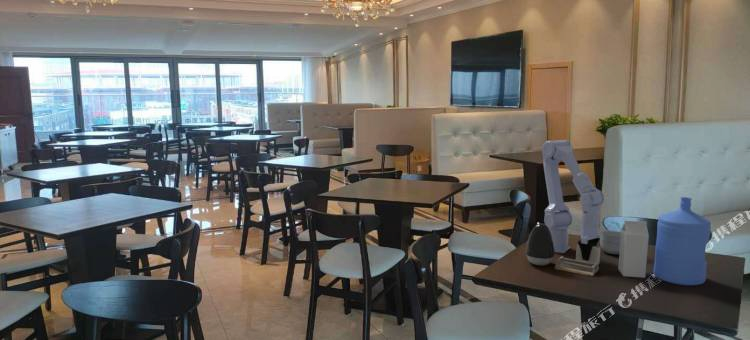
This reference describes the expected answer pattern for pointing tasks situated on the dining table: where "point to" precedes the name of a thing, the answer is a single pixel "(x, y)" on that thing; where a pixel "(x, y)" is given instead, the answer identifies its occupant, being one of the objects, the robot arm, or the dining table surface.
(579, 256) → the door panel
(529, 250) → the egg shaped speaker
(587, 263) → the door frame
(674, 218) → the water jug
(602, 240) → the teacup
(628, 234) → the milk carton
